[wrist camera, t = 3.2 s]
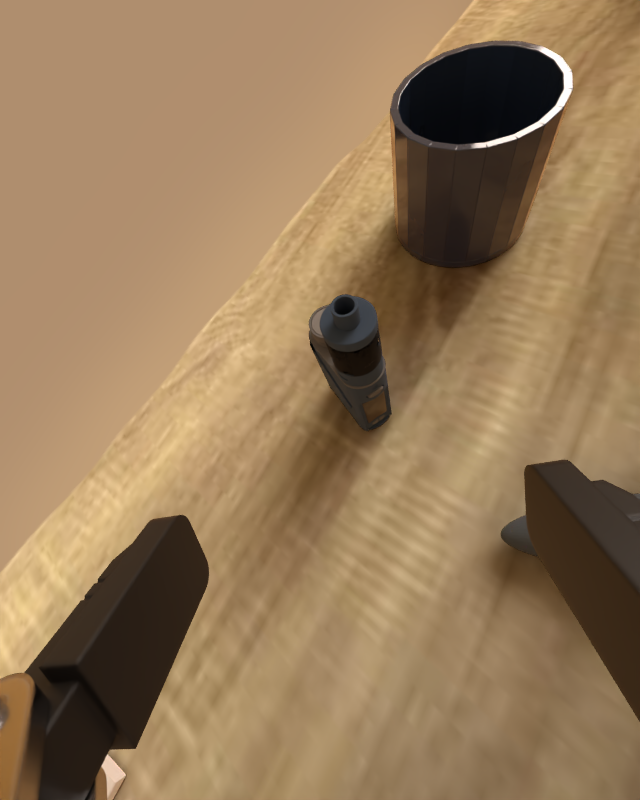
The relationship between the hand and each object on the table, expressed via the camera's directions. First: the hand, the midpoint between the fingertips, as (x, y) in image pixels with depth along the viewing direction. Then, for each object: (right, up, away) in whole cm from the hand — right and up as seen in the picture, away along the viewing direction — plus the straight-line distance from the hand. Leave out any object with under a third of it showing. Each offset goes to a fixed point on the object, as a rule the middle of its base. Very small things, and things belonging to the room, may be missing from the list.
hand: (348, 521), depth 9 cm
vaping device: (+2, +3, +17) cm, 17 cm away
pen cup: (+10, +17, +21) cm, 29 cm away
